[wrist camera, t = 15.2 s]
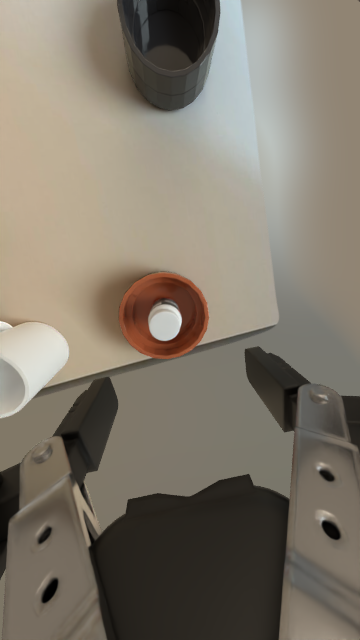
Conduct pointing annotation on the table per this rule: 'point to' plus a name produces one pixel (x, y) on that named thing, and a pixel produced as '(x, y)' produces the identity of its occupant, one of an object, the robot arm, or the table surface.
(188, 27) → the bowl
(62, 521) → the robot arm
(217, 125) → the table surface
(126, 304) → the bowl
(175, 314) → the pill bottle
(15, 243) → the table surface
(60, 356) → the mug
